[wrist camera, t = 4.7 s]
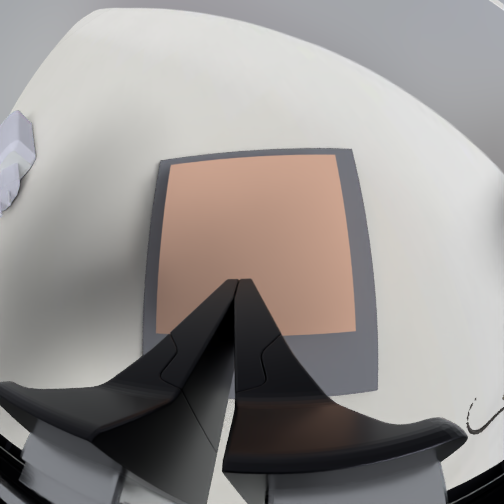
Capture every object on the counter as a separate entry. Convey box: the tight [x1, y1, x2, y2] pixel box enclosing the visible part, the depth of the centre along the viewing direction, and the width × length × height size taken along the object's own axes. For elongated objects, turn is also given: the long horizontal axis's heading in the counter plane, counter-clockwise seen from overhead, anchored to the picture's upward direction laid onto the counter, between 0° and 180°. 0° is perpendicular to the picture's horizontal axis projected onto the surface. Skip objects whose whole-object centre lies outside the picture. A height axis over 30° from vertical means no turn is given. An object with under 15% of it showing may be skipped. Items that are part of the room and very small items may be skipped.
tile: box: [156, 155, 356, 336], centre depth 15 cm, size 2×10×10 cm
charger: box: [0, 110, 36, 218], centre depth 21 cm, size 5×9×15 cm
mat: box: [143, 148, 378, 399], centre depth 16 cm, size 16×14×1 cm
